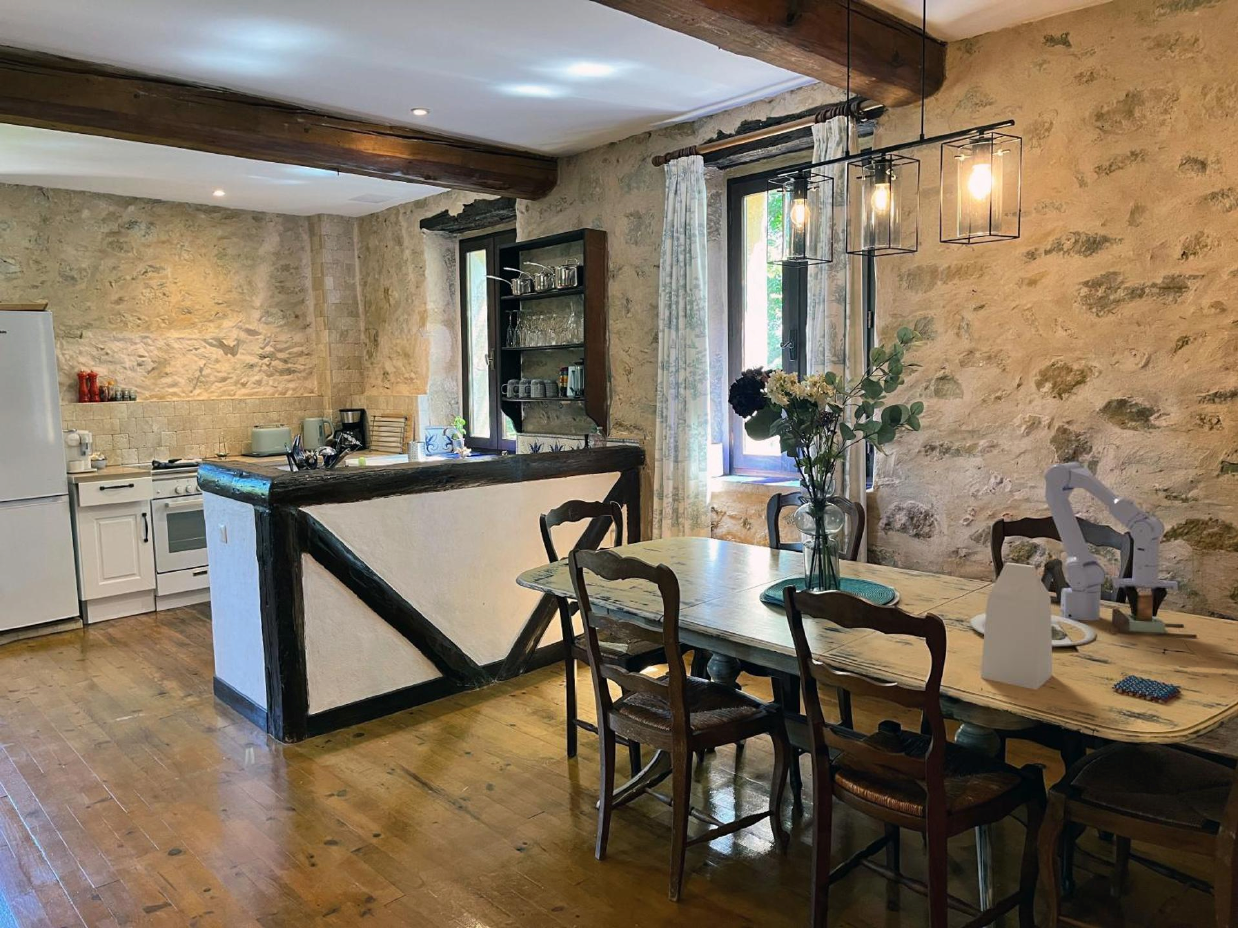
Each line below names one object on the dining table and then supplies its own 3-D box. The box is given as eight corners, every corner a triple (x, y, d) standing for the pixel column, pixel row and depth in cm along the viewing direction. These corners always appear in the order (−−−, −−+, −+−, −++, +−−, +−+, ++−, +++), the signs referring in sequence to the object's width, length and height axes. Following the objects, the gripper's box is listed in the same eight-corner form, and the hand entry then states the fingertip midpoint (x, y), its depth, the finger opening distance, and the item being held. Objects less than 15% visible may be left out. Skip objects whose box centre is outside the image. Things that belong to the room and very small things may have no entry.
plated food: (1079, 621, 240) (1080, 609, 239) (1109, 655, 211) (1110, 642, 211) (964, 615, 248) (964, 603, 247) (977, 647, 219) (978, 634, 219)
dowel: (1137, 622, 225) (1138, 596, 224) (1132, 618, 229) (1133, 592, 228) (1154, 623, 224) (1155, 597, 223) (1149, 619, 228) (1150, 593, 227)
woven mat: (1128, 681, 194) (1128, 672, 194) (1182, 694, 186) (1182, 685, 186) (1109, 693, 188) (1109, 683, 187) (1164, 706, 179) (1164, 697, 179)
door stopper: (1072, 600, 260) (1073, 561, 259) (1064, 604, 256) (1065, 564, 255) (1041, 595, 267) (1042, 556, 265) (1032, 598, 263) (1034, 559, 261)
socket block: (1128, 633, 224) (1129, 621, 223) (1120, 624, 232) (1120, 613, 231) (1164, 635, 221) (1165, 623, 221) (1154, 625, 229) (1155, 614, 229)
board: (1128, 644, 218) (1129, 625, 217) (1111, 626, 233) (1112, 608, 232) (1206, 649, 213) (1207, 629, 212) (1183, 630, 228) (1184, 612, 228)
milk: (1052, 675, 198) (1055, 563, 195) (1036, 689, 189) (1040, 573, 186) (998, 664, 206) (1000, 556, 203) (980, 677, 197) (983, 565, 194)
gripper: (1118, 566, 223) (1116, 617, 224) (1183, 568, 219) (1180, 621, 220) (1111, 560, 230) (1109, 610, 231) (1173, 562, 226) (1171, 613, 227)
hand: (1143, 615), depth 226 cm, fingers closed on dowel, 4 cm apart
